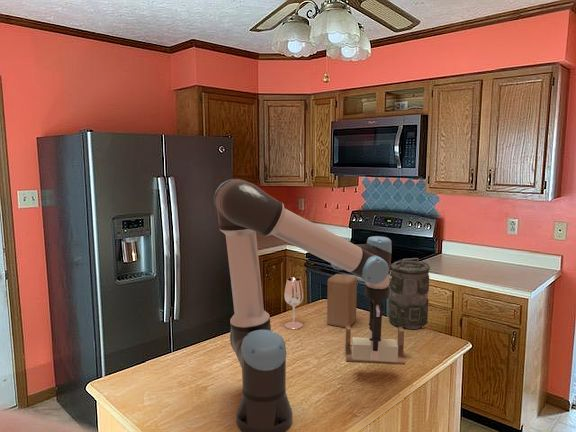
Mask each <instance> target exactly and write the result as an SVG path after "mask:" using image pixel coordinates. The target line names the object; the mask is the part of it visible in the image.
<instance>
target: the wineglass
mask: <svg viewBox="0 0 576 432" xmlns="http://www.w3.org/2000/svg"><path fill="white" fill-rule="evenodd" d="M302 284H303V283H302V280H301V278H299V277H288V278H287V279H286V283H285V288H284V294H283V295H284V297H283V298H284V300H285V302H286V304H287V305H289V306H291V308H292V321H287V322H286V323H284V327H285V328H287V329H288V330H289V329H291V330H299V329H301V328H302V327H303V326H304V324H303V323H301V322H299V321H296V320H295V318H296V317H295V314H296V313H295V311H296V310H295V309H296V307H297V306H299V305H300V304H301V303H302V302H303V299H304V292H303V285H302Z"/></svg>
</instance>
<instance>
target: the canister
mask: <svg viewBox="0 0 576 432" xmlns="http://www.w3.org/2000/svg"><path fill="white" fill-rule="evenodd" d="M419 260H420V259H419V257H412V258H403V259H399V260H397V261H394V262H393V263H392V262H391V267H390V269H391V272H390V276H392V278H391V279H389V280H390V282H389V286H390V287H389V290H390V297H389V301H388V302H389V304H388V305H389V306H388V309H389V311H388V313H389V314H388V319H389V322H390V323H391V324H392V325H393V326H395V327H403V328H405V329H406V330H418V329H420V328H422V327H424V326H426V325H427V324H428V317H429V316H428V315H429V299H428V296H429V295H428V294H429V289H430V288H429V287H430V274H429V272H430V270H431V267H430V265H429V264H428V263H427V262H425V261H419Z"/></svg>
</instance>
